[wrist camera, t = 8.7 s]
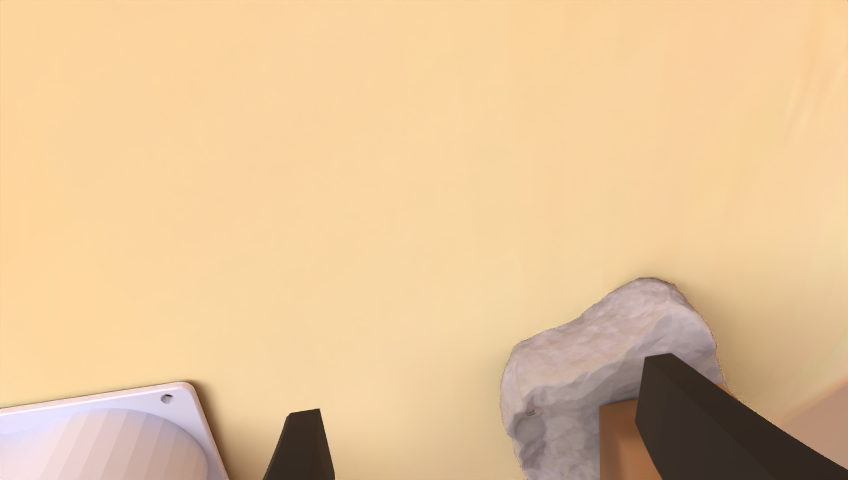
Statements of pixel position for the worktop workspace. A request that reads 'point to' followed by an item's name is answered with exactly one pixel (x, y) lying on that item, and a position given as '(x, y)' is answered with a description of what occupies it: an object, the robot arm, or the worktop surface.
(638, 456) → the walnut cube
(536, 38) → the worktop surface
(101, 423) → the robot arm
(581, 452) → the stone block
